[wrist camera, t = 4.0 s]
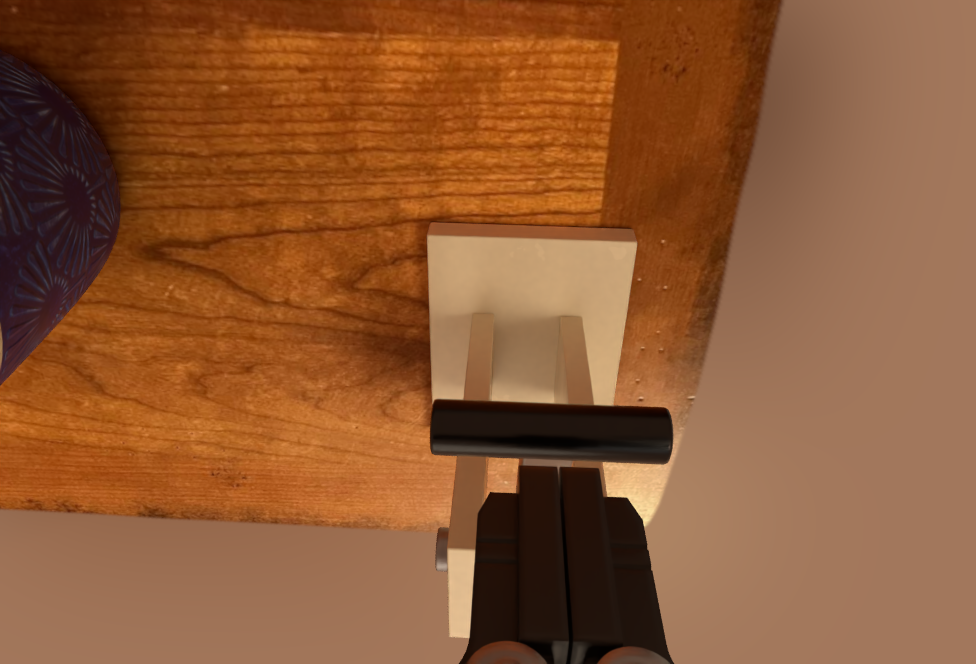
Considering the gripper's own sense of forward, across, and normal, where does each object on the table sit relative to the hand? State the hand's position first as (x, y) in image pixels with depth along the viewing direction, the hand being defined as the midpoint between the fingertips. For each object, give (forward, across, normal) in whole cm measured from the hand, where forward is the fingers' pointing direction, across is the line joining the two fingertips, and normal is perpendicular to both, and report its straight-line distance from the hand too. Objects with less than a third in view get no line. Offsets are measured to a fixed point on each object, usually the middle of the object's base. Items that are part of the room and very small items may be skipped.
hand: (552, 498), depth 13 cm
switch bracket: (+19, 0, +9) cm, 21 cm away
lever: (+5, 0, +4) cm, 7 cm away
